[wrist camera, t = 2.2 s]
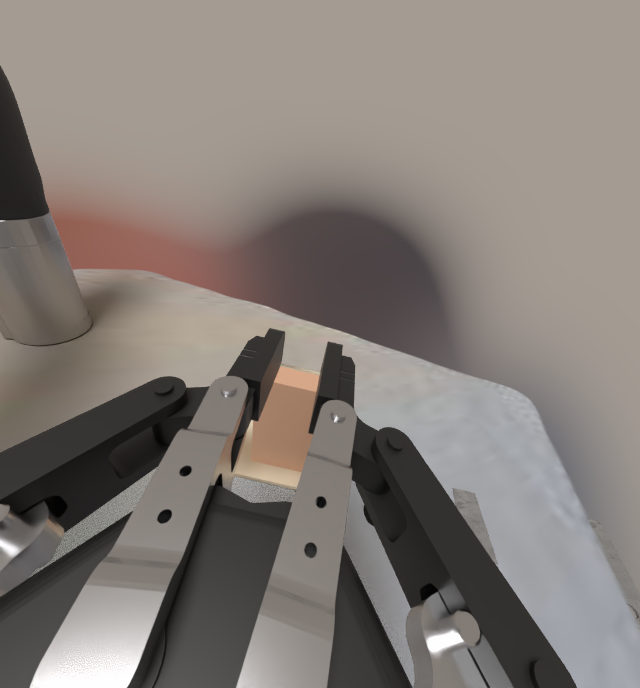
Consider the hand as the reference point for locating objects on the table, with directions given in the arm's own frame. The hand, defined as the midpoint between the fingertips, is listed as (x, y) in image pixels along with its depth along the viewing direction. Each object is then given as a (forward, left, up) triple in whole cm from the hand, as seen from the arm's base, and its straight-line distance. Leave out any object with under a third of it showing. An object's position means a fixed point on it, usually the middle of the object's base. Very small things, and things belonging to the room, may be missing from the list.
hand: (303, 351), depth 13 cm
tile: (+2, +7, -21) cm, 23 cm away
